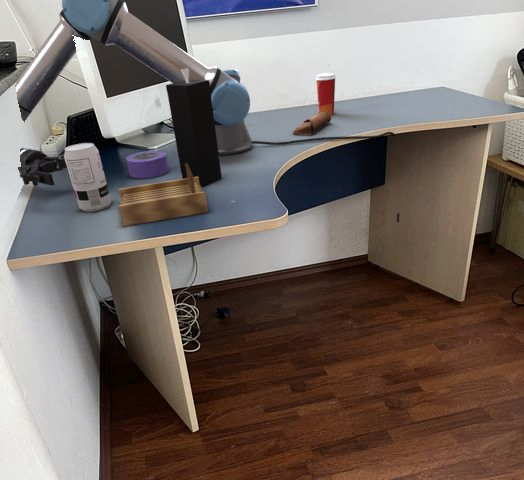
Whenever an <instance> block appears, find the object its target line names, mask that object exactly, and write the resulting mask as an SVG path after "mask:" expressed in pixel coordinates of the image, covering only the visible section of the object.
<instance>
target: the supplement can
mask: <svg viewBox="0 0 524 480" xmlns="http://www.w3.org/2000/svg"><path fill="white" fill-rule="evenodd" d="M63 155H64V158H65V162H66V165H67V168H66V169H67V171H68V175H69V178H70V182H71V185H72V189H73V192H74V195H75V199H76V203H77V206H78V208H79V210H82V211H83V212H86V213H87V212H89V213H90V212H91V213H92V212H98V211H103V210H105V209H107V208H109V207H110V205H111V203H112V198H111V194H110V191H109V187H108V183H107V180H106V174H105V172H104V167H103V163H102V159H101V155H100V151H99V149H98V148H97V147H96V145H95V144H94V143H93V142H81V143H77V144H72V145H69V146H67V147H65V148H64V154H63Z"/></svg>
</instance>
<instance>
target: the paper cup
mask: <svg viewBox="0 0 524 480" xmlns="http://www.w3.org/2000/svg"><path fill="white" fill-rule="evenodd" d="M336 79H337V77H336V74H335V73H334V72H324V73H318V74H316V78H315V81H316V93H317V104H318V105H317V106H318V113H321V112H328V113H329V114H330V115H331V116H333V115H334V113H335V99H336V98H335V95H336Z"/></svg>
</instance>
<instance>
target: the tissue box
mask: <svg viewBox="0 0 524 480" xmlns="http://www.w3.org/2000/svg"><path fill="white" fill-rule="evenodd" d="M181 71H182V74H183V76H184V78H185V81H181V82H177V83H172V82H171V83H168V84H165V88H166V94H167V99H168V105H169V111H170V116H171V117H170V118H171V122H172V128H173V134H174V139H175V144H176V145H175V146H176V150H177V156H178V162H179V167H180V173H181V179H184V178H187V172H186V167H185V164H186V163H188V166H189V169H190V171H191V173H192V174H193V177H197V176H198V177H199V184H200V186H201V187H204V186H207V185H209V184H212V183H214V182H217V181H220V180H221V179H223V176H222V169H221V162H220V160H221V159H220V155H219V153H218V145H217V138H216V130H215V123H214V115H213V108H212V100H211V92H210V83H209V80H189V68H186V69H181Z"/></svg>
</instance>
